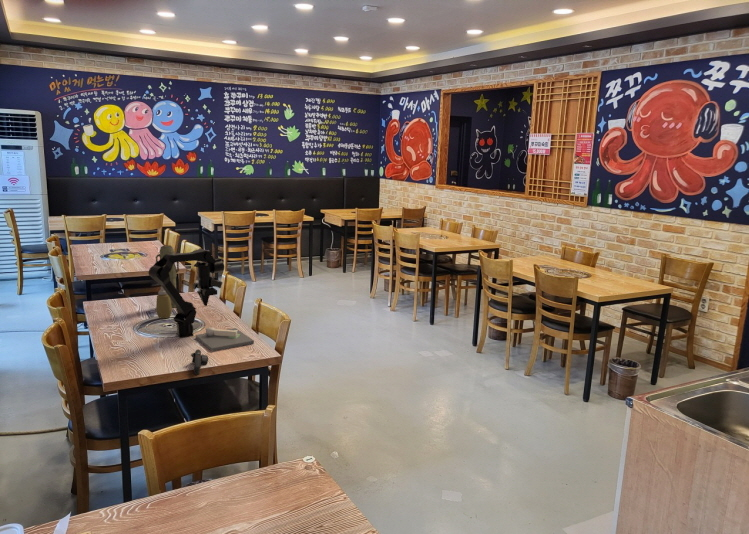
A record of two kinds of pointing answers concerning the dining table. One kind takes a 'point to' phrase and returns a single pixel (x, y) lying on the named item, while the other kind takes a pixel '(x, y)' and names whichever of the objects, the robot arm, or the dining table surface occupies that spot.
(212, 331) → the dial lever
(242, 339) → the board
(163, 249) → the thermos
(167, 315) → the squeeze bottle
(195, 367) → the can opener
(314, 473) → the dining table surface
